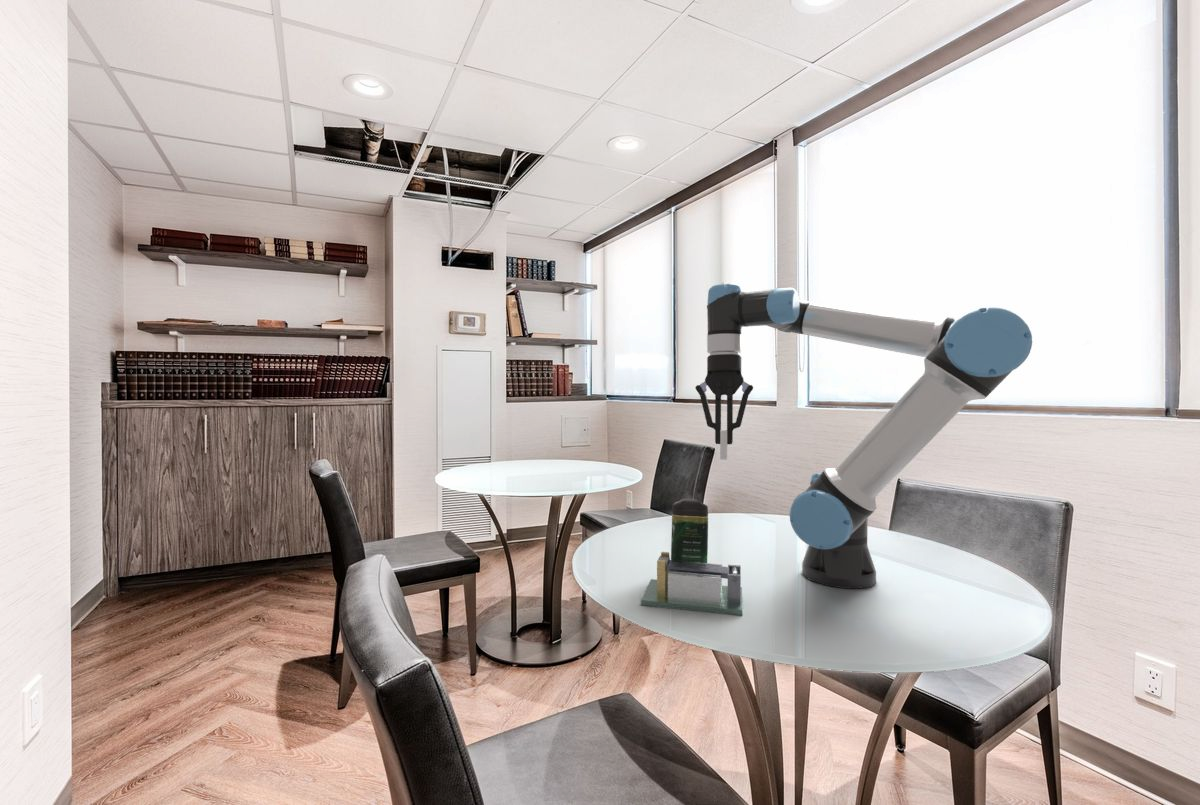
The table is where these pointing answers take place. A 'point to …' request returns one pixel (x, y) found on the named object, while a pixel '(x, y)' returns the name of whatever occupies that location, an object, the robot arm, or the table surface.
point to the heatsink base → (695, 590)
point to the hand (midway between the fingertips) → (723, 458)
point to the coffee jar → (689, 531)
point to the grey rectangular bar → (695, 567)
